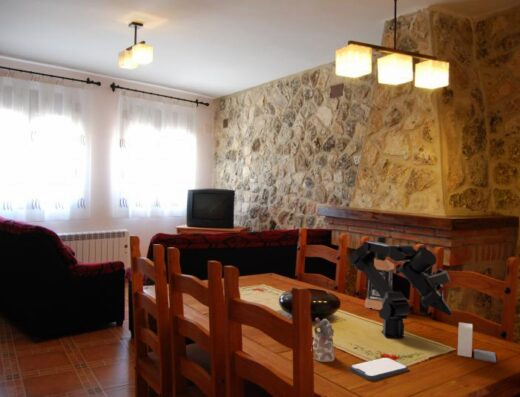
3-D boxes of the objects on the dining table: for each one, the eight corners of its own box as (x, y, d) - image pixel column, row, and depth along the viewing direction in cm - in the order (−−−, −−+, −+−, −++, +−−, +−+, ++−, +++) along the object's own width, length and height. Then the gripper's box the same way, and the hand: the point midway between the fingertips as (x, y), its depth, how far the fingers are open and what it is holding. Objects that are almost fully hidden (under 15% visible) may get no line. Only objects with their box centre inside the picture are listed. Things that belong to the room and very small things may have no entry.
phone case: (386, 361, 131) (347, 370, 123) (386, 356, 131) (347, 365, 123) (409, 372, 123) (370, 383, 115) (410, 367, 123) (370, 377, 115)
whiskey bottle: (393, 307, 193) (396, 236, 193) (387, 311, 185) (390, 238, 184) (371, 303, 199) (373, 234, 198) (364, 307, 190) (366, 236, 190)
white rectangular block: (457, 354, 137) (458, 327, 136) (458, 349, 142) (458, 322, 142) (471, 357, 135) (472, 329, 135) (471, 351, 140) (472, 324, 140)
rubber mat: (474, 358, 134) (474, 357, 134) (474, 350, 141) (474, 349, 141) (496, 362, 131) (496, 361, 131) (494, 354, 138) (494, 352, 138)
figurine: (329, 363, 126) (330, 323, 126) (307, 358, 130) (308, 319, 130) (338, 356, 132) (339, 318, 132) (317, 351, 136) (318, 314, 136)
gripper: (433, 266, 134) (471, 306, 129) (437, 258, 151) (470, 293, 146) (406, 288, 137) (442, 327, 133) (412, 278, 154) (444, 313, 150)
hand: (450, 314), depth 140 cm, fingers closed
